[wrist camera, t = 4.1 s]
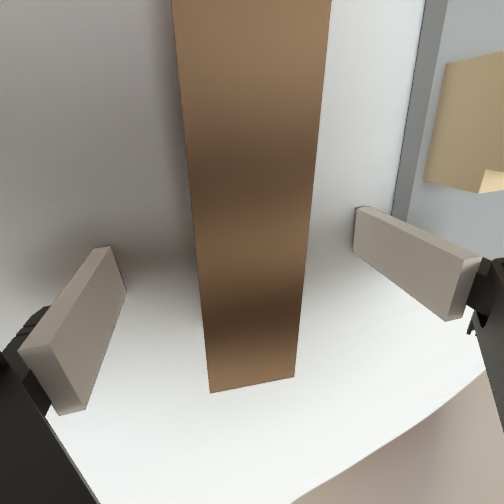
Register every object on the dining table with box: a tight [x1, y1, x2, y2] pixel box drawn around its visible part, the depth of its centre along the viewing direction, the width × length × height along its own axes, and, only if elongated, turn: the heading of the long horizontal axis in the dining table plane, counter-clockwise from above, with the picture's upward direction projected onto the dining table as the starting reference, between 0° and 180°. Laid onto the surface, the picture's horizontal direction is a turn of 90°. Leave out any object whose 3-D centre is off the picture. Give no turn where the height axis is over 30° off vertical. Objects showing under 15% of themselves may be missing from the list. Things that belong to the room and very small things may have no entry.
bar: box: [171, 0, 332, 393], centre depth 10 cm, size 20×4×5 cm, turn 0°
